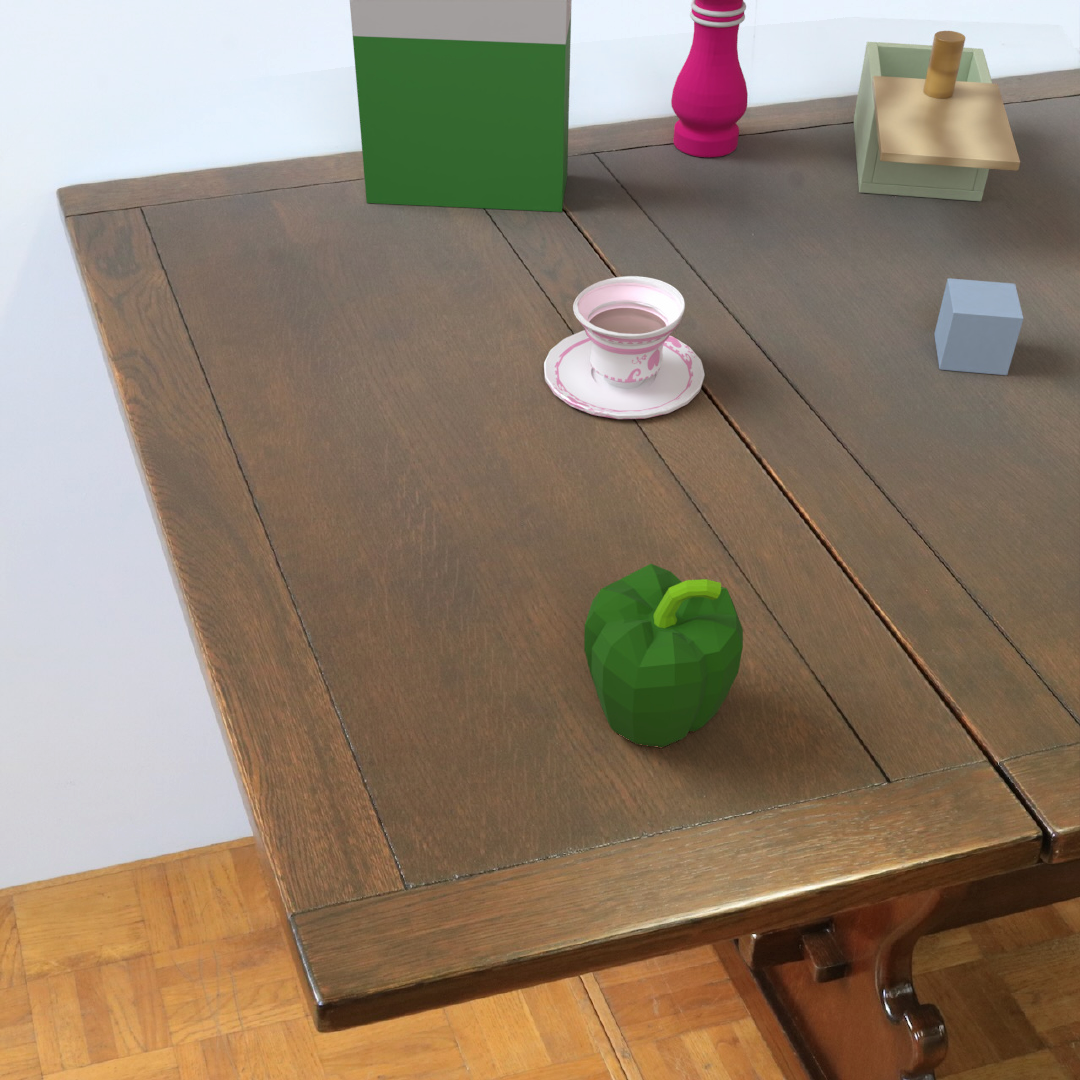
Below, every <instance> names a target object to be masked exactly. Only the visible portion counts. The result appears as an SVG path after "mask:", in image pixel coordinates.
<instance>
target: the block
mask: <svg viewBox="0 0 1080 1080" xmlns="http://www.w3.org/2000/svg"><path fill="white" fill-rule="evenodd" d="M1023 315H1024V314H1023V310H1022V306H1021V302H1020V299H1019V295H1018V289H1017V285H1016V283H1011V282H1001V281H1000V282H998V281H988V280H987V281H986V280H973V279H961V278H951V277H949V278H948V277H947V280H946V283H945V288H944V292H943V296H942V301H941V304H940V309H939V313H938V317H937V320H936V321H937V322H936V326H935V329H934V342H935V348H936V355H937V363H938V369H939V371H950V372H951V371H952V372H963V373H974V374H975V373H976V374H984V375H985V374H988V375H997V376H998V375H1000V376H1008V374H1009V370H1010V367H1011V364H1012V360H1013V356H1014V353H1015V349H1016V346H1017V342H1018V339H1019V336H1020V333H1021V329H1022V325H1023V321H1024V319H1025V318H1024V316H1023Z"/></svg>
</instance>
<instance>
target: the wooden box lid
mask: <svg viewBox="0 0 1080 1080" xmlns="http://www.w3.org/2000/svg"><path fill="white" fill-rule="evenodd" d="M965 42H966V36H965V34H963V33H961V32H958V31H954V30H939V31H937V32H936V33H934V36H933V40H932V44H931V45H932V50H931V55H930V60H929V64H928V69H927V74H926V79H916V78H901V77H885V76H873V81H872V89H873V98H874V107H875V117H876V126H877V135H878V144H879V154H880V161H887V162H901V163H915V164H929V165H943V166H957V167H971V168H985V169H989V170H1001V171H1015V172H1017V171H1018V172H1019V168H1020V164H1021V160H1020V156H1019V153H1018V149H1017V146H1016V141H1015V139H1014V136H1013V135H1014V134H1013V132H1012V129H1011V125H1010V121H1009V118H1008V114H1007V111H1006V107H1005V104H1004V101H1003V98H1002V93H1001V90H1000V87H999V84H998V83H993V82H992V83H978V82H962V81H956V79H957V75H958V70H959V66H960V61H961V57H962V52H963V48H965Z"/></svg>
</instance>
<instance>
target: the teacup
mask: <svg viewBox="0 0 1080 1080" xmlns="http://www.w3.org/2000/svg"><path fill="white" fill-rule="evenodd" d="M572 305H573V306H572V310H573V314H574V316H575V318H576V319H577V320H578V321H579V323H580V324H581V327H583V330H581V331H579V332H576V333H573V334H572V335H569V336H567V337H564V338H563V339H562V340H560V341H559V342H558V343H557V344H556V345H554V346H553V347H552V348H551V349H550V350H549V352H548V353H547V356H546V358H545V360H544V362H543V373H544V381H545V383H546V384H547V386H548V387H549V389H550V390H551V392H552V393H553V395H554V396H556V397H557V398H558V399H560V400H561V401H563V402H564V403H565V404H566V405H568V406H570V407H571V408H573V409H577V410H579V411H582V412H584V413H587V414H590V415H592V416H596V417H597V416H598V417H603V418H608V419H609V418H610V419H615V420H643V419H644V420H645V419H649V418H653V417H658V416H662V415H663V416H664V415H667V414H670V413H673V412H674V411H677V410H679V409H680V408H682V407H685V406H687V405H688V404H689V403H690V402H691V401H692V400H693V399H694V398H696V396H697V395H698V394H699V393H700V392H701V389H702V386H703V384H704V380H705V377H706V374H705V369H704V366H703V361H702V359H701V358H700V357H699V356H698V354H696V352H695V351H694V350H693V349H692V347H690V346H689V345H688V344H686V343H684V342H682V341H681V340H679V338H676V337H674V336H673V335H671V334H672V332H674V330H676V328H677V327H678V326H679V325H680V323H681V322H682V319H683V315H684V313H685V310H686V302H685V299H684V297H683V295H682V294H681V292H680V291H679V289H677V288H676V287H674V286H673V285H671V284H670V283H668V282H665V281H663V280H660V279H657V278H653V277H647V276H638V275H626V276H615V277H612V278H607V279H603V280H600V281H597V282H595V283H592V284H590V285H589V286H587V287H585V288H584V289H583V290H582V291H581V292H580V293H579V294H578V295H577V296H576V297H575V300H574V302H573V304H572Z"/></svg>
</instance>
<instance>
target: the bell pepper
mask: <svg viewBox="0 0 1080 1080" xmlns="http://www.w3.org/2000/svg"><path fill="white" fill-rule="evenodd" d="M583 637H584V638H583V639H584V640H583V644H584V648H583V650H584V655H585V657H586V661H587V665H588V669H589V674H590V676H591V679H592V682H593V685H594V688H595V691H596V696H597V698H598V701H599V703H600V706H601V709H602V711H603V714H604V716H605V718H606V721H607V723H608V725H609V727H610V729H611V730H612V731H613V732H614V733H615V732H616V733H618V734H620V735H622V736H624V737H625V738H627V739H629V740H630V741H632V742H634V743H636V744H642V745H648V746H658V747H664V746H666V747H668V746H670V745H672V744H671V743H673V742H675V743H677V742H679V741H681V740H683V739H684V738H686V737H687V735H688V734H689V733H690V732H689V731H694V732H696V731H698V730H700V729H702V728H703V727H704V726H705V725H706V724H707V723H709V721H710V720H711V719H712V718H714V717H715V716H716V715H717V714H718V712H719V711H720V709H721V706H722V705H723V704H724V702H725V701H726V699H727V696H728V694H729V693H730V690H731V688H732V686H733V684H734V682H735V680H736V678H737V676H738V675H739V670H740V664H741V659H742V653H743V647H744V644H743V643H744V628H743V626H742V623H741V620H740V617H739V614H738V612H737V609H736V607H735V604H734V601H733V599H732V597H731V595H730V592H729V590H728V588H726V587H723V586H722V583H721V582H719V581H714V580H711V579H706V578H703V579H686V580H683V581H682V580H680V579H679V577H678V576H676V575H675V574H674V573H673V572H672V571H670V570H668V569H665V568H663V567H661V566H658V565H655V564H653V563H649V564H647V565H645V566H643V567H640V568H639V569H637V570H636V571H633V572H632V573H630V574H628V575H626V576H624V577H622V578H620V579H617V580H616V581H614V582H611V583H610V584H608V585H606V586H604V587H602V588H601V589H600V590H599V591H598V592H597V594H596V595H595V597H594V598H593V599H592V601H591V604H590V606H589V610H588V614H587V617H586V620H585V623H584V635H583ZM616 733H615V734H616ZM625 738H624V739H625ZM627 739H626V740H627ZM629 740H628V741H629ZM678 740H679V741H678ZM630 741H629V742H630ZM676 741H677V742H676ZM632 742H631V743H632ZM634 743H633V744H634ZM636 744H635V745H636ZM669 744H670V745H669ZM673 744H674V743H673ZM667 745H668V746H667ZM648 746H647V747H648ZM664 748H665V747H664Z"/></svg>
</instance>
